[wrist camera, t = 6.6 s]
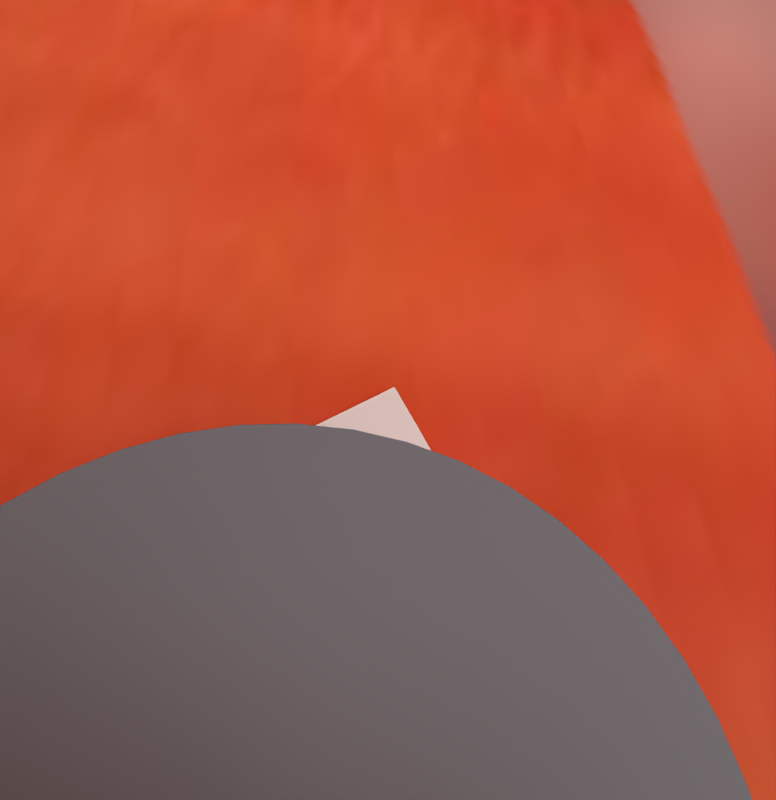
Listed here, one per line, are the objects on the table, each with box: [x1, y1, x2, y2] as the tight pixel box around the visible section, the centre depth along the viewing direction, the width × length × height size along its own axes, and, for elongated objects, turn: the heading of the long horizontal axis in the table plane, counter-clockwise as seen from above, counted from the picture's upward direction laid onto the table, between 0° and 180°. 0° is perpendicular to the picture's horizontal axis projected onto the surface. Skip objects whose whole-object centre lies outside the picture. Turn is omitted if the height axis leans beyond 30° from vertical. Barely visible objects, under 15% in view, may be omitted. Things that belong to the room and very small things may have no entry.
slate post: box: [0, 424, 752, 800], centre depth 8 cm, size 5×5×12 cm
